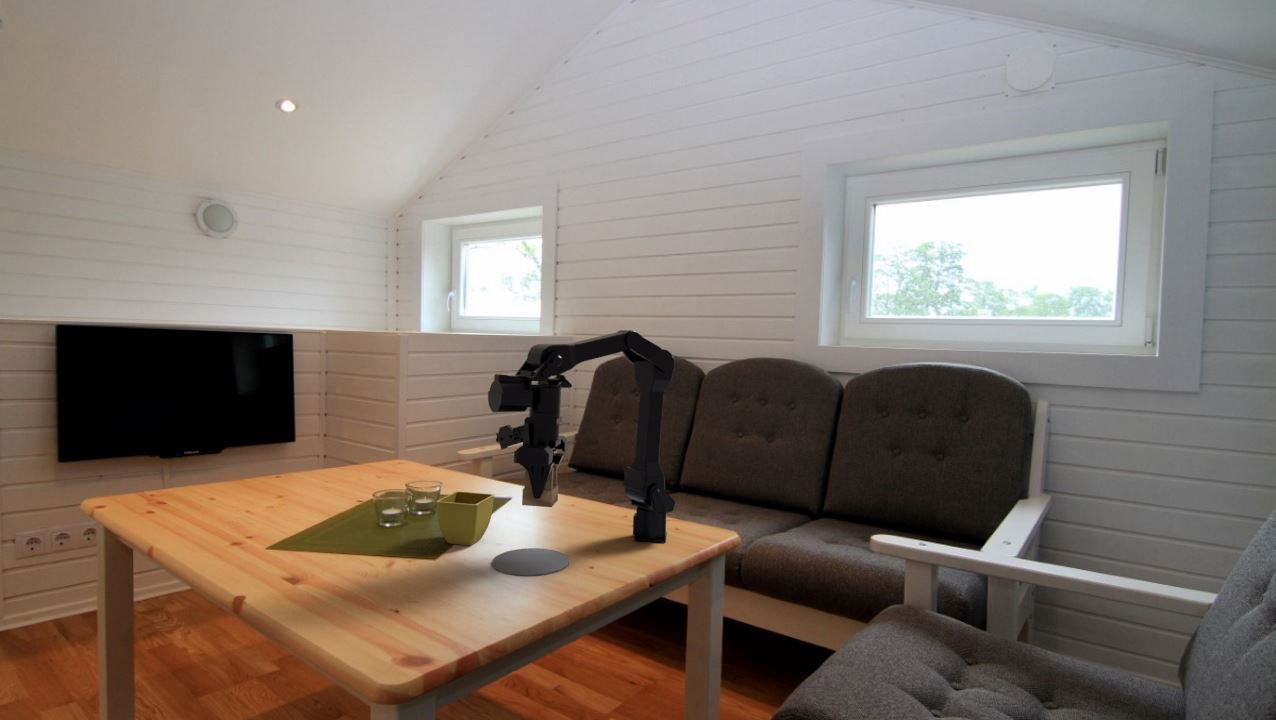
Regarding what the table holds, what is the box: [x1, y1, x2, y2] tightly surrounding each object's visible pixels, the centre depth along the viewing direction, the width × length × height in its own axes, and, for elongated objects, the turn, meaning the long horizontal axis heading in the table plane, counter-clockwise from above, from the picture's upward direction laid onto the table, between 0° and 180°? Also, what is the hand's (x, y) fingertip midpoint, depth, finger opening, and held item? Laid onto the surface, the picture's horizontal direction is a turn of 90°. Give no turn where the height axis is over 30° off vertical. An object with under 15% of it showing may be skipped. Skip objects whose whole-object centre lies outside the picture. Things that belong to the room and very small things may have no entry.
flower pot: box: [435, 490, 495, 546], centre depth 134 cm, size 9×9×9 cm
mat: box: [492, 547, 570, 577], centre depth 123 cm, size 14×14×1 cm
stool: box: [521, 464, 559, 508], centre depth 125 cm, size 6×6×7 cm
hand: (540, 494), depth 125 cm, fingers closed on stool, 5 cm apart
